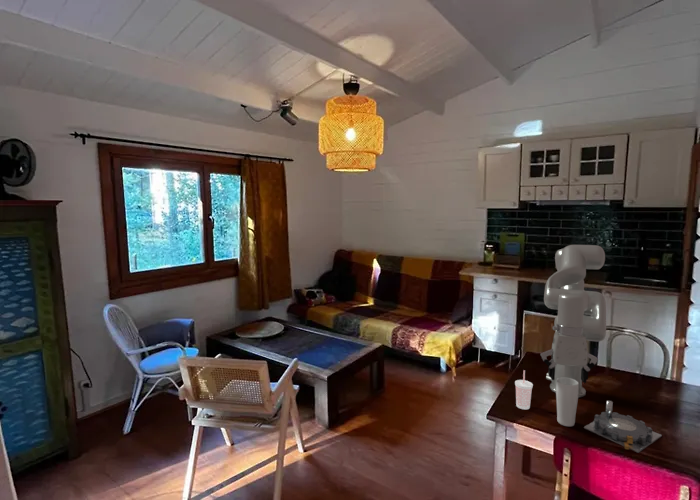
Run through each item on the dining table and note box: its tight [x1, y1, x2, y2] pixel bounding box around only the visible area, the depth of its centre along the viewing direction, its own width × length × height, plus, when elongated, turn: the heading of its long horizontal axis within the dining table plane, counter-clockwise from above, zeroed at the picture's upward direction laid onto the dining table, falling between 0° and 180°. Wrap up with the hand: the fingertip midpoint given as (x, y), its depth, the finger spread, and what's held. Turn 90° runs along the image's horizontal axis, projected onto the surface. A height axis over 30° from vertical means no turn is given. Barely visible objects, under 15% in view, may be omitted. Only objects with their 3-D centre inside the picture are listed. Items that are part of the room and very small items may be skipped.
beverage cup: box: [514, 369, 534, 410], centre depth 146 cm, size 6×6×14 cm
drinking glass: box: [555, 377, 579, 427], centre depth 134 cm, size 7×7×15 cm
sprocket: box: [593, 400, 653, 444], centre depth 129 cm, size 16×16×7 cm
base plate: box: [583, 421, 663, 453], centre depth 128 cm, size 16×18×1 cm
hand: (567, 379), depth 133 cm, fingers open, 9 cm apart
